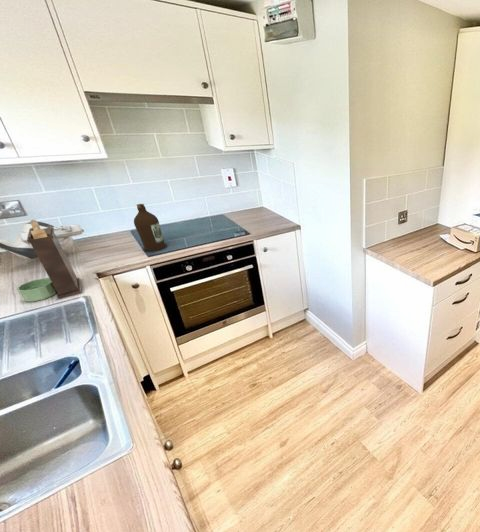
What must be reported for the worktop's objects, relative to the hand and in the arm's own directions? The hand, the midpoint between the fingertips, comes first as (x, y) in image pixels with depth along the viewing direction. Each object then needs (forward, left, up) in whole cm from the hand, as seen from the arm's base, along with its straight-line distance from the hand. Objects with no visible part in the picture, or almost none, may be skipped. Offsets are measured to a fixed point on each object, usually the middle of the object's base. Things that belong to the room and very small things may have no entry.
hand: (48, 229), depth 145 cm
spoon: (-1, -18, +5) cm, 19 cm away
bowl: (-9, -22, -21) cm, 32 cm away
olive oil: (+36, +5, -21) cm, 41 cm away
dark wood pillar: (0, -23, -21) cm, 31 cm away
